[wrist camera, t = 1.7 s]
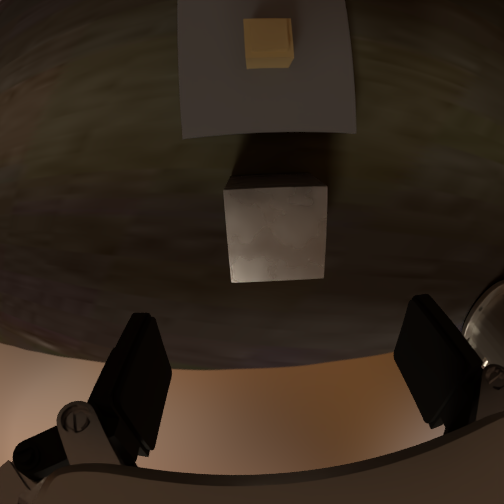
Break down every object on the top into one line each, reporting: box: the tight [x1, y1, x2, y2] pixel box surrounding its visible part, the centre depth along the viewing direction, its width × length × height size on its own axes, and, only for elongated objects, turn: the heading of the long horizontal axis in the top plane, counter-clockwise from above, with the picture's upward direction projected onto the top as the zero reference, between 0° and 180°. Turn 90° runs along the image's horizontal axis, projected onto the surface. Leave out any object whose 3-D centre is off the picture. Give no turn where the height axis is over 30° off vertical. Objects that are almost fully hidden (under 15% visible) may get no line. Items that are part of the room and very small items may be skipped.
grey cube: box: [223, 173, 327, 283], centre depth 22 cm, size 7×7×6 cm
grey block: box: [178, 0, 356, 139], centre depth 16 cm, size 13×13×7 cm
